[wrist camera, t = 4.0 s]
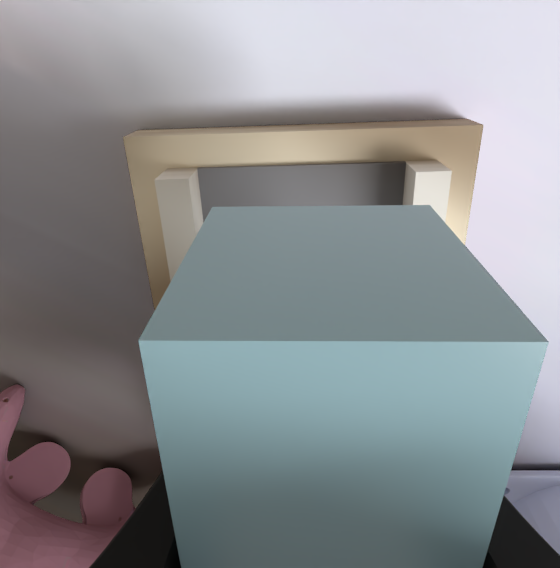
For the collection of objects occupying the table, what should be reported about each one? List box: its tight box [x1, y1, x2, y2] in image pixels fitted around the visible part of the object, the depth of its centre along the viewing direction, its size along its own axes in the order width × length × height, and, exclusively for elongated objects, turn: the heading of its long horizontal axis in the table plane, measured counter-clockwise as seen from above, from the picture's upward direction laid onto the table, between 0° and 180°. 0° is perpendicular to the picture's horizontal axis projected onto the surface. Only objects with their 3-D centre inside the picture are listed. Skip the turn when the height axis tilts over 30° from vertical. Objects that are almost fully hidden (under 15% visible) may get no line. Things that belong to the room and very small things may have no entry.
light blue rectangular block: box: [138, 205, 549, 568], centre depth 10 cm, size 11×4×5 cm, turn 1°
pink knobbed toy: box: [0, 384, 136, 568], centre depth 20 cm, size 10×5×7 cm, turn 60°
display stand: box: [123, 119, 483, 310], centre depth 17 cm, size 13×11×3 cm
